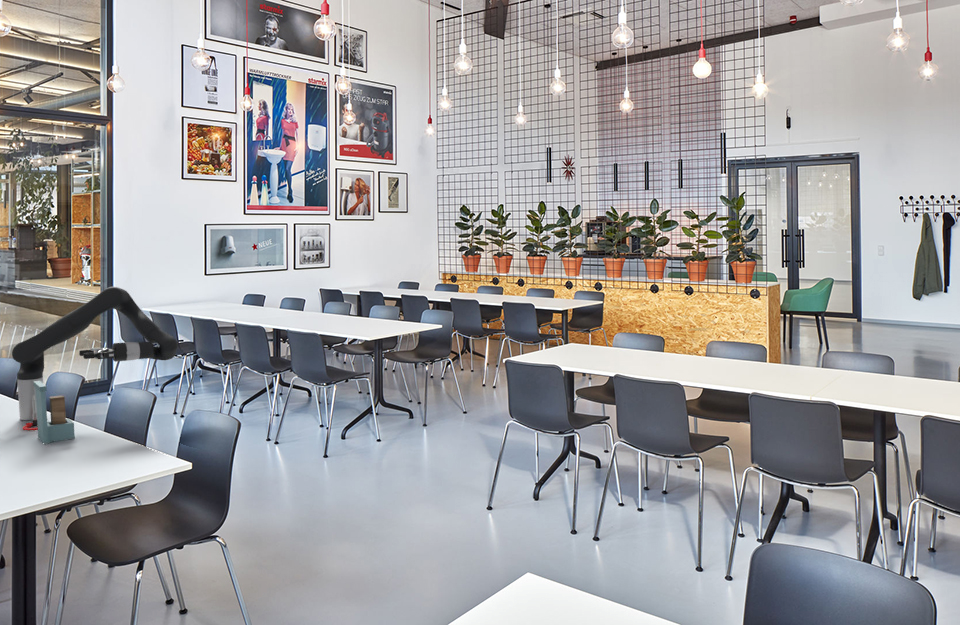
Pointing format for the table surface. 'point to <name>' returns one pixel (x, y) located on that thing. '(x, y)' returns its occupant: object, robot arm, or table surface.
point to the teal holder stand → (45, 428)
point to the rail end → (57, 410)
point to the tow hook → (34, 420)
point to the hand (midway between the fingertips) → (81, 354)
